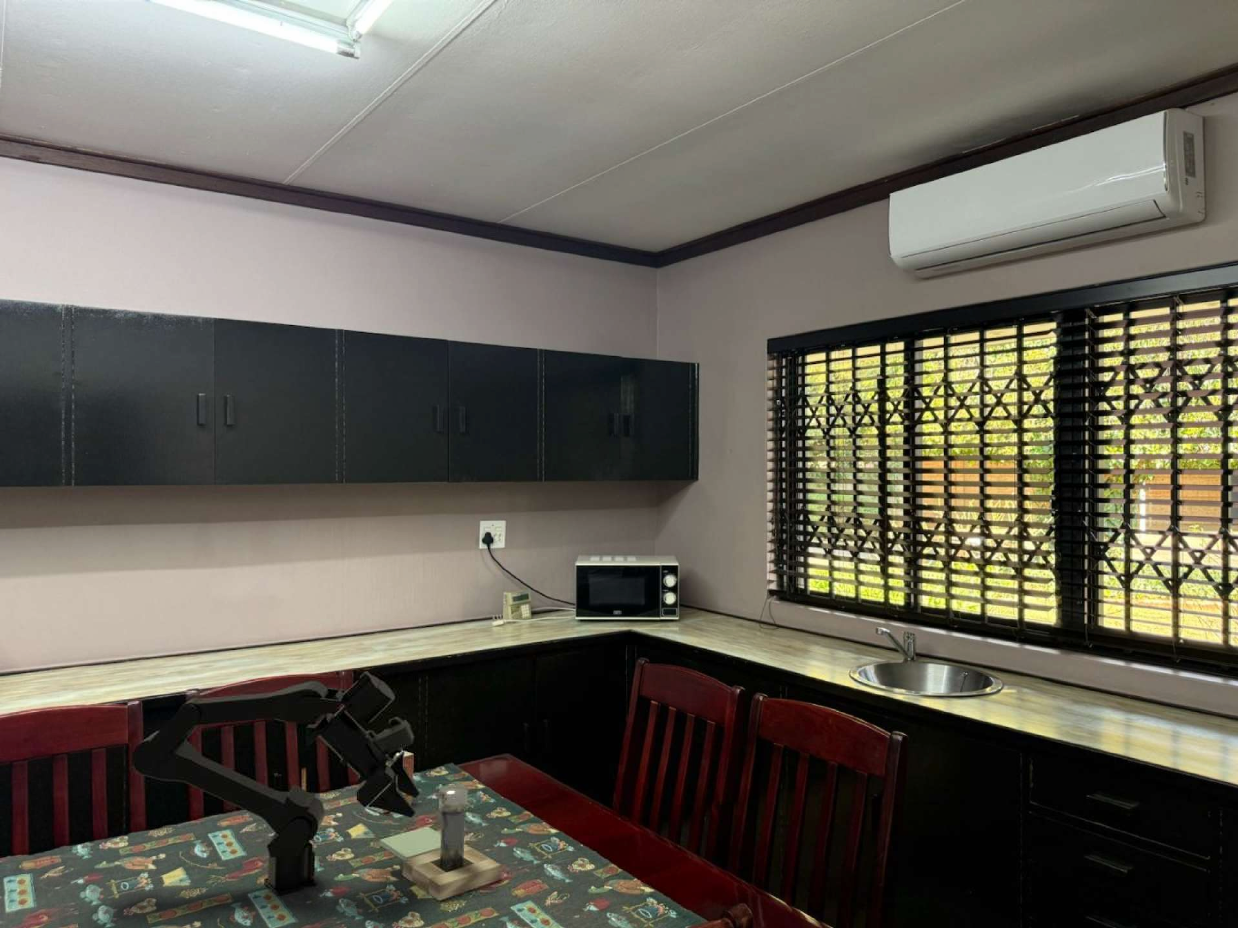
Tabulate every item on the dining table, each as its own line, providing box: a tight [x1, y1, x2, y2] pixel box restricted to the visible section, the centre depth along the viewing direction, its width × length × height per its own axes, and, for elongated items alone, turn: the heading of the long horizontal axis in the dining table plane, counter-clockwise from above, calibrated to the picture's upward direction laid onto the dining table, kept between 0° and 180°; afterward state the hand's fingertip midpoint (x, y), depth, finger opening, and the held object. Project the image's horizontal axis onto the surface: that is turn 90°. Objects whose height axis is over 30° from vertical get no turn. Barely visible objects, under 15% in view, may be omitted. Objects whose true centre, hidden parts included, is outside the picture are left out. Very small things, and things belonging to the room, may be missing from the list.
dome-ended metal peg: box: [438, 784, 469, 873], centre depth 154 cm, size 5×5×15 cm
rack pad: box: [379, 826, 441, 862], centre depth 166 cm, size 10×10×1 cm
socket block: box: [402, 843, 502, 901], centre depth 154 cm, size 12×12×2 cm
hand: (415, 804), depth 153 cm, fingers open, 9 cm apart
